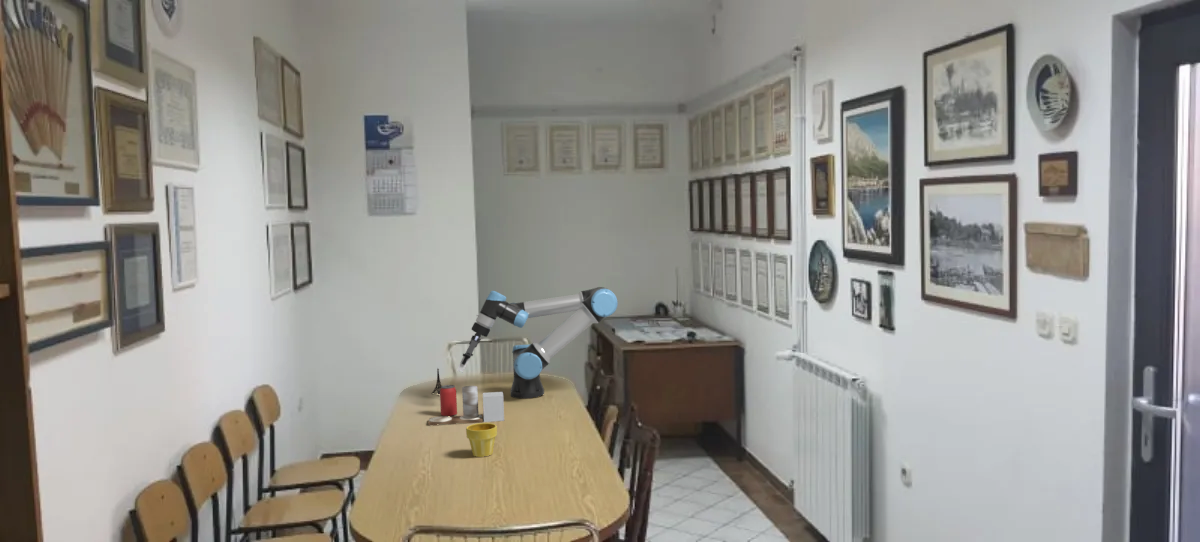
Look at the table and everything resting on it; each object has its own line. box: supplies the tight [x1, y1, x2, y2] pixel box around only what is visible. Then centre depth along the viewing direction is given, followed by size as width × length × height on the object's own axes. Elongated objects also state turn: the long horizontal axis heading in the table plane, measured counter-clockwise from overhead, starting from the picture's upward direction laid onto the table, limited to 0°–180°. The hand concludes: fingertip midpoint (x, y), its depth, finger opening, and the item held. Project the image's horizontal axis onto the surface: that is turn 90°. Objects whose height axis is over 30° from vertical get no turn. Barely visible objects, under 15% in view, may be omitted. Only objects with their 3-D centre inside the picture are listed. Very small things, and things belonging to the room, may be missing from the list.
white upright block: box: [482, 391, 505, 423], centre depth 345 cm, size 8×8×10 cm
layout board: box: [427, 385, 484, 426], centre depth 342 cm, size 21×9×13 cm, turn 98°
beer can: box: [439, 384, 458, 416], centre depth 354 cm, size 7×7×12 cm
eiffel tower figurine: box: [431, 368, 443, 394], centre depth 397 cm, size 15×10×13 cm
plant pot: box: [465, 422, 498, 458], centre depth 294 cm, size 10×10×10 cm
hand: (460, 369), depth 369 cm, fingers open, 13 cm apart
